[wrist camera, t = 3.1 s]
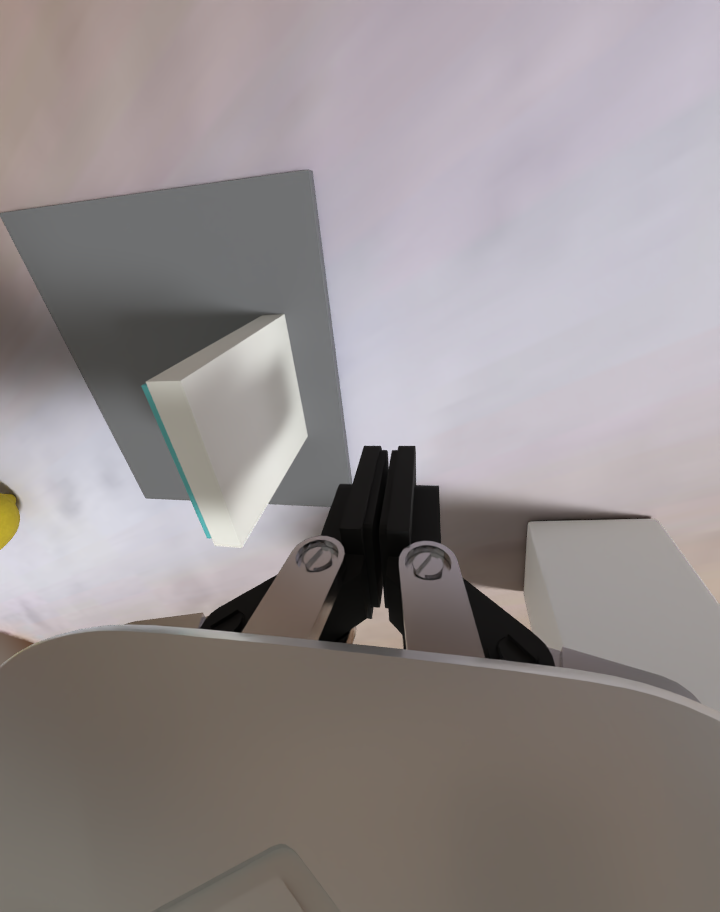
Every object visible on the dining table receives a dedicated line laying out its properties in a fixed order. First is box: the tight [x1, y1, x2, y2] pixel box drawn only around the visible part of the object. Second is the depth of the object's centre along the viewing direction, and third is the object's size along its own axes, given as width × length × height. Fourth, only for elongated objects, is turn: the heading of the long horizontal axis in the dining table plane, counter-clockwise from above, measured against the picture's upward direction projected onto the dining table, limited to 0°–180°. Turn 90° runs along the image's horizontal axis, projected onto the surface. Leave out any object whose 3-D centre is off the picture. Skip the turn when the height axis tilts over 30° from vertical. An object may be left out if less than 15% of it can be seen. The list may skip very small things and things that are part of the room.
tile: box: [141, 314, 308, 548], centre depth 17 cm, size 7×2×9 cm, turn 5°
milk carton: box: [524, 519, 720, 712], centre depth 16 cm, size 7×7×19 cm
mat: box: [0, 170, 352, 507], centre depth 22 cm, size 18×16×1 cm
